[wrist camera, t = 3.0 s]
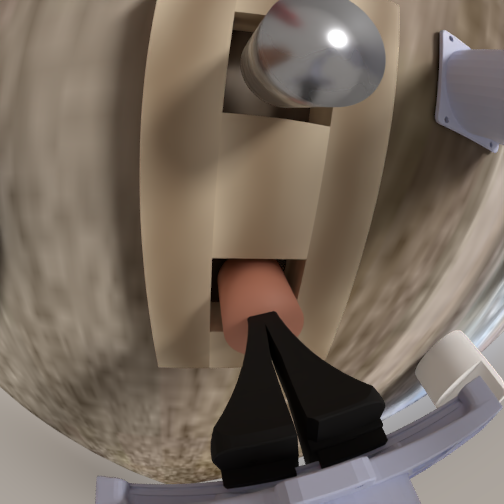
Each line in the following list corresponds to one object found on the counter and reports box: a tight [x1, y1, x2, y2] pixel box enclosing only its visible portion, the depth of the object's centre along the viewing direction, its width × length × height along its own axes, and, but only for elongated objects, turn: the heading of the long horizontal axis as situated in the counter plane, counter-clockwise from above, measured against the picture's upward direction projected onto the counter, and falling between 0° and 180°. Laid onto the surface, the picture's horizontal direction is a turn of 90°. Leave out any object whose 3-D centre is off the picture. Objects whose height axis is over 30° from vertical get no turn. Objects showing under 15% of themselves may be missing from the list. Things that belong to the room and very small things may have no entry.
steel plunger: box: [240, 0, 386, 108], centre depth 8 cm, size 4×4×4 cm
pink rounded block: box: [217, 258, 304, 354], centre depth 15 cm, size 4×4×4 cm
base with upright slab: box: [415, 330, 504, 408], centre depth 25 cm, size 9×9×12 cm
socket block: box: [140, 0, 400, 368], centre depth 14 cm, size 12×24×3 cm, turn 174°
